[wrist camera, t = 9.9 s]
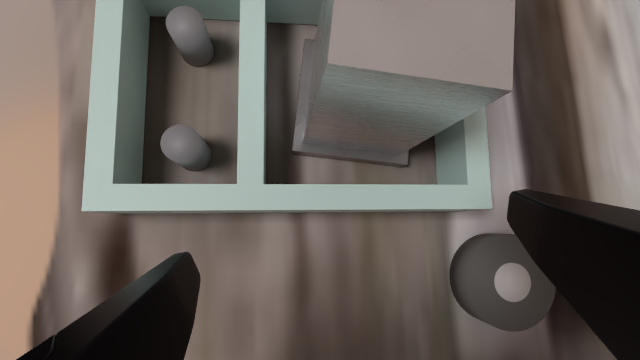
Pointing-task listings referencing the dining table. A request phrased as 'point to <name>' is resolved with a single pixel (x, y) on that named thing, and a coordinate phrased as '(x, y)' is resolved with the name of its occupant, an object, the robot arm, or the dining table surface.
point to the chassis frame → (194, 154)
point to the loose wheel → (500, 282)
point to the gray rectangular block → (398, 74)
